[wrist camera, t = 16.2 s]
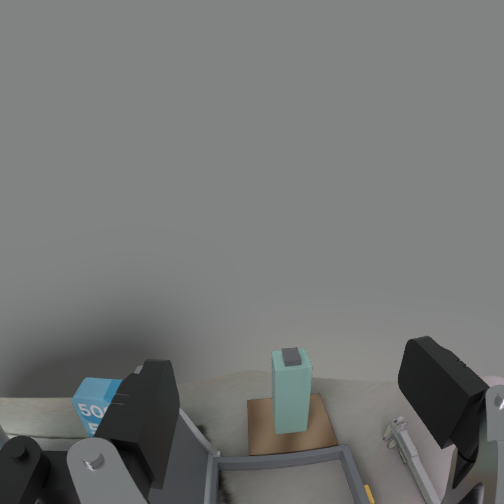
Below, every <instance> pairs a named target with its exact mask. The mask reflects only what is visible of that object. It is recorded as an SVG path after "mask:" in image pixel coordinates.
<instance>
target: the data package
mask: <svg viewBox="0 0 504 504" xmlns="http://www.w3.org/2000/svg"><path fill="white" fill-rule="evenodd" d="M122 381H123V380H115V379H101V378H100V379H99V378H85V379H84V381H83V382H82V383H81V385H80V387H79V388H78V390H77V392H76V393H75V395H74V397H73V398H72V403H73V406H74V408H75V410H76V412H77V414H78V416H79V417H80V419H81V421H82V423H83V425H84V427H85V429H86V430H87V432H88V434H89V436H90V438H92V437H93V436H94V434H95V432H96V430H97V428H98V426H99V424H100V422H101V420H102V418H103V416H104V414H105V412H106V410H107V408H108V406H109V404H111V400H112V398H113V397H114V395H116V391H117V389H118V387H119V385H120V383H121V382H122Z"/></svg>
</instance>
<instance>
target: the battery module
mask: <svg viewBox="0 0 504 504" xmlns="http://www.w3.org/2000/svg"><path fill="white" fill-rule="evenodd" d="M311 380H312V365H311V362H310V360H309V357H308V355H307V352H306V349H297V347H296V348H286V349H282V351H273V352H272V415H273V422H274V429H275V434H284V433H293V432H302V431H307V422H308V413H309V403H310V392H311Z"/></svg>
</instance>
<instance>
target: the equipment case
mask: <svg viewBox="0 0 504 504" xmlns="http://www.w3.org/2000/svg"><path fill="white" fill-rule="evenodd" d="M142 367H143V365H142V366H138V367H137V369H136V370H135V372H134V373H137V374H139V373H140V371H141V369H142ZM203 447H204V448H205V449H206V450H207V452H208V453H207V452H206V450H205V449H204V448H203ZM336 459H341V462H342V465H343V468H344V471H345V474H346V477H347V480H348V483H349V486H350V489H351V492H352V495H353V498H354V501H355V504H374V503H375V502H374V499H373V497H372V494H371V491H370V489H369V486H368V485H363V482H362V480H361V477H360V474H359V472H358V469H357V466H356V464H355V461H354V459H353V456H352V453H351V451H350V448H349V446H348V444H345V445H340V446H335V447H330V448H324V449H318V450H311V451H304V452H297V453H288V454H278V455H266V456H248V457H221V452H220V451H216V450H215V448H214V447H213V446H212V445H211V444H210V443H209V442H208V440H207V439H206V438H205V437H204V436H203V435H202V433H201V432H200V431H199V430H198V429H197V427H196V426H195V425H194V424H193V422H192V421H191V420H190V419H189V417H188V416H187V415H186V414H185V412H184V411H183V410H182V408H180V409H179V415H178V420H177V424H176V428H175V433H174V437H173V442H172V447H171V451H170V456H169V460H168V465H167V470H166V475H165V480H164V485H163V490H161V489H153V488H150V492H149V496H148V500H149V501H150V503H151V504H218V488H219V470H254V469H270V468H281V467H291V466H299V465H306V464H313V463H319V462H325V461H330V460H336Z"/></svg>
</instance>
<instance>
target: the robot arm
mask: <svg viewBox="0 0 504 504" xmlns="http://www.w3.org/2000/svg"><path fill="white" fill-rule="evenodd" d="M398 384H399V388H400V390H401V392H402V393H403V394H404V396H405V397H406V399H407V400H408V401H409V403H410V404H411V406H412V407H413V408H414V410H415V411H416V413H417V414H418V416H419V417H420V418H421V420H422V421H423V423H424V424H425V426H426V427H427V429H428V430H429V431H430V433H431V434H432V436H433V437H434V439H435V440H436V442H437V443H438V445H439V446H440V448H441V449H444V448H446V447H448V446H450V445H452V444H455V445H456V448H455V449H454V451H453V455H452V461H451V467H450V473H449V478H448V483H447V488H446V492H445V496H444V498H443V500H442V502H441V504H504V385H495V386H492V387H489V386H488V385H487V384H486V383H485V382H484V381H483V380H482V379H481V378H480V377H479V376H478V375H476V374H475V373H474V372H473V371H472V370H471V369H470V368H469V367H466V364H464V363H463V362H462V361H460V359H459V358H458V357H457V356H456V355H454V354H453V353H452V352H451V351H449V350H447V349H445V348H443V347H441V346H440V345H438V344H437V343H436V342H435V341H434V340H433V339H432V338H430V337H429V336H424V337H419V338H415V339H410V340H409V341H408V342H407V344H406V347H405V351H404V355H403V359H402V363H401V367H400V370H399V374H398ZM179 409H180V402H179V394H178V390H177V386H176V382H175V377H174V372H173V368H172V364H171V362H170V360H153V359H147V360H146V361H145V363H144V365H143V367H142V369H141V371H140V373H139V374H137V373H132V374H130V375H129V376H128V377H127V378H125V379H124V380H123V381H122V382H121V383H120V385H119V387H118V389H117V391H116V395H114V397H113V398H112V400H111V404H109V406H108V408H107V410H106V412H105V414H104V416H103V418H102V420H101V422H100V424H99V426H98V428H97V430H96V432H95V434H94V436H93V437H92V438H86V439H83V440H80V441H78V442H76V443H75V444H74V445H73V446H72V447H71V448H70V449H69V451H43V450H42V449H41V448H40V446H39V445H38V443H37V442H36V441H35V440H34V439H32V438H30V437H27V436H17V437H14V438H12V439H9V437H8V436H7V435H6V433H5V432H4V430H3V429H2V427H1V425H0V504H151V503H150V501H149V500H148V496H149V492H150V488H153V489H161V490H163V485H164V480H165V475H166V470H167V465H168V460H169V456H170V451H171V447H172V442H173V437H174V433H175V428H176V424H177V420H178V415H179Z"/></svg>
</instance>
